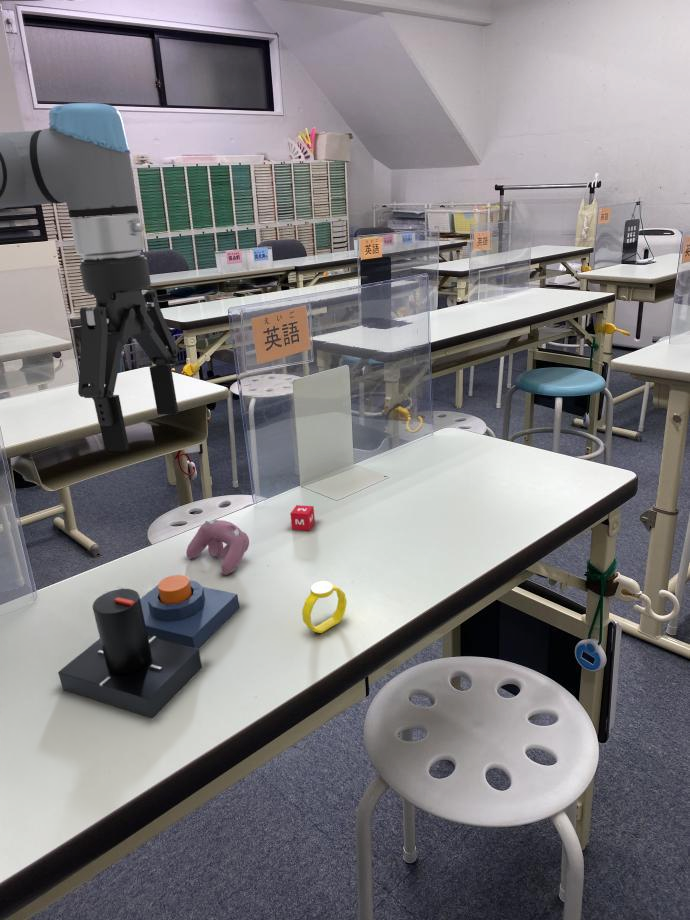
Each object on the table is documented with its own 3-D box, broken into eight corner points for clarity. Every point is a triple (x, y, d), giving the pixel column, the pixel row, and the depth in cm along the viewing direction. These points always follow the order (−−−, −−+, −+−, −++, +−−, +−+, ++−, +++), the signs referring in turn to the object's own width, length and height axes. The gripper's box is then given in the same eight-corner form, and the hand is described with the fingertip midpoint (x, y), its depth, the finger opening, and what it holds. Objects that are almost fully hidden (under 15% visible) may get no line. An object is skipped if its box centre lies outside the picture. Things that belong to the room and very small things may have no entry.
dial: (97, 668, 77) (81, 606, 74) (127, 642, 82) (113, 582, 79) (131, 678, 75) (117, 615, 72) (160, 651, 80) (148, 590, 77)
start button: (153, 601, 88) (151, 588, 87) (173, 585, 91) (171, 572, 90) (179, 607, 86) (176, 593, 85) (198, 591, 89) (195, 577, 89)
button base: (119, 632, 88) (113, 606, 87) (168, 592, 97) (163, 567, 95) (194, 652, 83) (189, 624, 82) (239, 607, 92) (235, 582, 90)
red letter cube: (292, 529, 112) (290, 513, 111) (298, 521, 115) (296, 505, 114) (309, 530, 111) (307, 514, 110) (315, 522, 114) (313, 506, 113)
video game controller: (246, 576, 102) (257, 530, 102) (223, 576, 98) (234, 529, 98) (205, 557, 108) (215, 514, 108) (182, 557, 105) (192, 512, 105)
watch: (338, 612, 89) (334, 572, 87) (351, 621, 87) (348, 581, 85) (300, 632, 86) (296, 591, 83) (314, 642, 84) (310, 600, 81)
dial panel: (61, 690, 78) (56, 671, 77) (117, 643, 86) (113, 625, 85) (151, 718, 73) (147, 698, 72) (202, 666, 81) (199, 647, 80)
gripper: (81, 266, 66) (121, 468, 74) (187, 244, 89) (210, 401, 97) (13, 270, 68) (60, 467, 76) (134, 247, 91) (161, 401, 98)
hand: (144, 430), depth 86 cm, fingers open, 13 cm apart
